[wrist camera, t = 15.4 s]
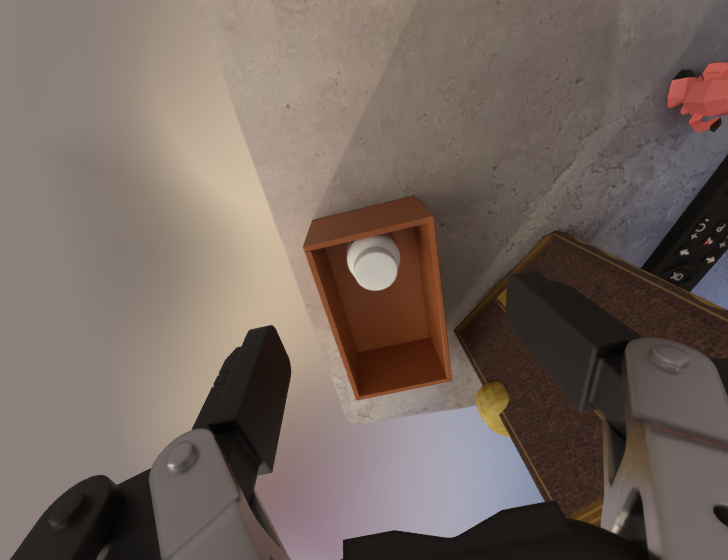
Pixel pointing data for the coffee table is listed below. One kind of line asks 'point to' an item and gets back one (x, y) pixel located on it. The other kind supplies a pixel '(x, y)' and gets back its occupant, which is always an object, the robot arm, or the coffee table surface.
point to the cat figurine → (701, 95)
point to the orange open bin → (384, 299)
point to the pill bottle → (374, 261)
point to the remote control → (695, 236)
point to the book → (542, 395)
